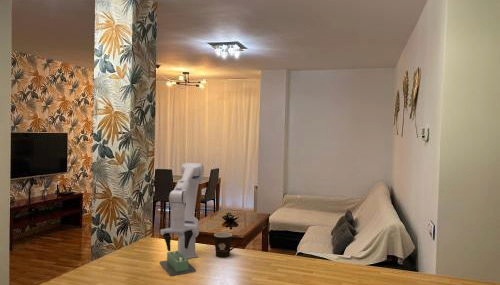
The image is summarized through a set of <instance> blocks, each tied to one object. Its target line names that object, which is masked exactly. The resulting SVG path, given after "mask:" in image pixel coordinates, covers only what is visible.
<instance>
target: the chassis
mask: <svg viewBox="0 0 500 285" xmlns="http://www.w3.org/2000/svg"><path fill="white" fill-rule="evenodd" d="M176 251H177V250H174V251H172V252H173V254H176ZM179 261H182V258H179ZM159 265H160V266H161V267H162V268H163V270H164V271H165V272H166V273H167V274H168V276H169V277H173V276H181V275H185V274H186V275H187V274H191V273H196V272H197V269H196V268H195V267H194V266H193V265H192V263H191V264H190V263H189V262H188V270H185V271H179V272H176V270H175V269H174V268H173V267H172V266H171V265H170V264H169V263H168V262H167V260H161V261H159Z"/></svg>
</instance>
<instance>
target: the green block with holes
mask: <svg viewBox="0 0 500 285" xmlns="http://www.w3.org/2000/svg"><path fill="white" fill-rule="evenodd" d="M175 251H176V254H173V251H168V252H166V255H167V256H166V258H167V259H166V261H167V262H168V263H169V264H170V265H171V266H172V267H173V268H174V269H175V270H176V272H179V271H185V270H188V263H189V260H188V258H185V257H184V256H183V255H182V254H181V253H180V252H179V251H178V250H175ZM179 258H182V261H179Z"/></svg>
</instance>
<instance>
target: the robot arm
mask: <svg viewBox="0 0 500 285" xmlns="http://www.w3.org/2000/svg"><path fill="white" fill-rule="evenodd" d="M204 169H205V168H204V164H203V163H202V162H201V163H197V162H195V163H194V162H193V163H191V162H183V163H182V164H181V175H182V177H181V179H178V181H177V183H176V184H175V187H174V189H173V190H171V191H170V192H169V196H168V202H169V208H170V227H167V228H161V229H160V230H159V231H160V234H159V235H161V236H162V237H163V239H164V242H165V244H166V249H167V251H168V252H171V241H172V236H171V234H176V235H177V236H178V240H177V251H179V252H180V253H181V254H182V255H183V256H184V257H185V258H186V259H194V258H198V257H199V255H198V254H197V253H196V238H197V237H198V236H199V234H200V221H199V220H198V218H197V217H195V214H196V213H195V212H196V211H195V210H196V204H197V196H198V189H199V185H200V183H202V182H203V179H204Z"/></svg>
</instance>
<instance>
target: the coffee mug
mask: <svg viewBox="0 0 500 285" xmlns="http://www.w3.org/2000/svg"><path fill="white" fill-rule="evenodd" d="M213 238H214V247H215V257H217V258H220V259H225V258H226V259H227V258H229V257H230V254H231V251H232V250H233V249H235V248H237V247H239V245H240V244H241V240H240V238H239V237H233V234H232V233H231V232H227V231H226V232H225V231H223V232H222V231H221V232H216V233H213ZM233 240H238V243H237V244H236V245H235V246H233V247H231V246H232V242H233Z"/></svg>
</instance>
